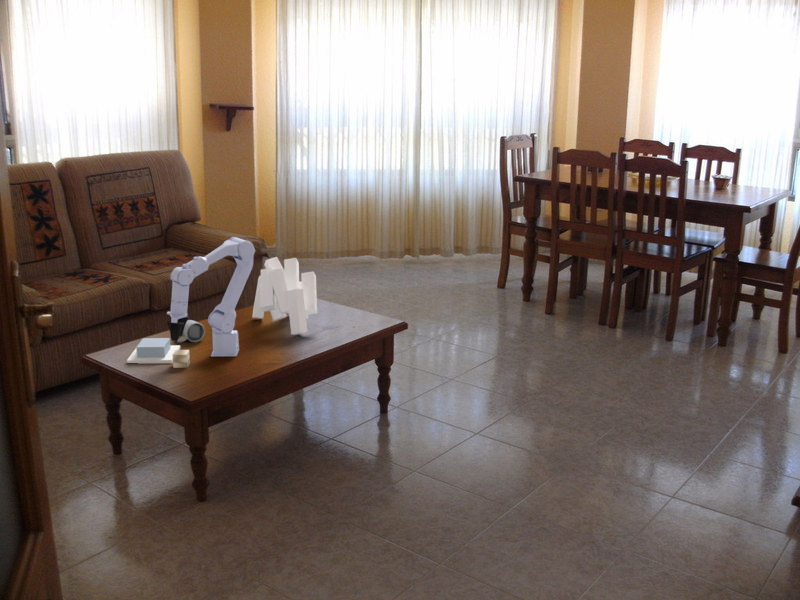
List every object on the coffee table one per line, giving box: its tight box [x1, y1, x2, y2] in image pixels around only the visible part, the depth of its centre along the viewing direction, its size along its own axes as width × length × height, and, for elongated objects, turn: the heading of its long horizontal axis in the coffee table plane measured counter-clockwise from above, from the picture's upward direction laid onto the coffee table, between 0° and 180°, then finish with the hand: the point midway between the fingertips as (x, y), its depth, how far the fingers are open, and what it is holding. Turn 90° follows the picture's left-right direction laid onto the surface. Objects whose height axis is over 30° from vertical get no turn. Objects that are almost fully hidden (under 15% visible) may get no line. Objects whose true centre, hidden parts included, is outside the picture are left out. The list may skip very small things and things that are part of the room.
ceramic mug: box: [176, 319, 206, 344], centre depth 326 cm, size 11×8×8 cm
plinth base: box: [126, 337, 181, 364], centre depth 308 cm, size 16×16×5 cm
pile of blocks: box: [251, 256, 318, 335], centre depth 346 cm, size 35×30×35 cm
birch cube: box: [172, 349, 191, 369], centre depth 299 cm, size 5×5×5 cm
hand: (176, 338), depth 298 cm, fingers open, 7 cm apart
